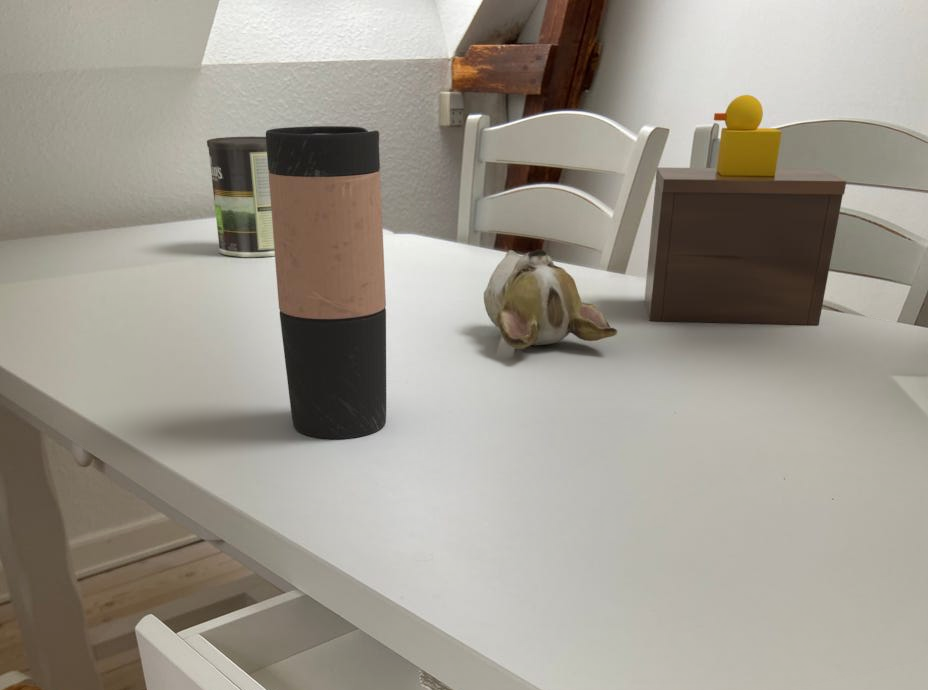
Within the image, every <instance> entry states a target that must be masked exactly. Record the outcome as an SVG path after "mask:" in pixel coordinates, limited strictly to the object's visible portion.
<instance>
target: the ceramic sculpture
mask: <svg viewBox="0 0 928 690" xmlns="http://www.w3.org/2000/svg"><path fill="white" fill-rule="evenodd" d="M483 303H484V308H485V311H486V313H487V316H488V318H489V320H490V321H491V322H492V324H493V325H494V326H495V327H497V328H498V329H499V331H500V332H499V333H500V334H501V336H502V339H503V340H504V342H505V343H506V344H507V345H509V346H510V347H512V348H515V349H517V350H518V349H520V350H521V349H527V348H528V347H530V346H545V345H552V344H556V343H559V342H560V341H563V340H564V339H565V338H566V337H568V335H569V334H572V335H574V336H575V337H576V338H578V339H580V340H582V341H588V342H593V341H594V342H595V341H600V340H602V339H606V338H610V337H614V336H616V335H617V333H618V330H617V329H616V328H614V327H611V326H610V323H609V322H608V321H607V319H606V316H605V315H604V313H603V311H601V310H599V309H598V308H597V307H596V305H595V304H593V303H588V302H582V299H581V297H580V293H579V290H578V287H577V285H576V281H575V279H574V278H573V276H571V275H570V273H568V272H567V271H566V270H565V268H563V267H560V266H557V265H555V263H554V260H553V259H552V257H551V256H549V255H548V254H547V252H546V251H545V250H543V249H536V250H532V251H527V252H526V253H525V254H524V253H523V255H520V254H518V253H516V251H514V250H512V249H510V250H508V251H507V252H506V254H505V256H504V258H502V260H500V262H499V263H497V265H496V267H495V269H494V271H492V274H491V275H490V277H489V281H488V283H487V286H486V288H485V290H484V291H483Z"/></svg>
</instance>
